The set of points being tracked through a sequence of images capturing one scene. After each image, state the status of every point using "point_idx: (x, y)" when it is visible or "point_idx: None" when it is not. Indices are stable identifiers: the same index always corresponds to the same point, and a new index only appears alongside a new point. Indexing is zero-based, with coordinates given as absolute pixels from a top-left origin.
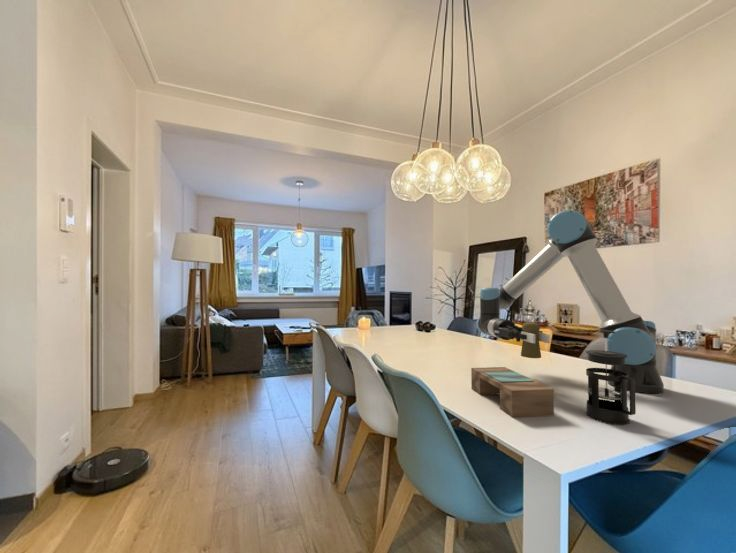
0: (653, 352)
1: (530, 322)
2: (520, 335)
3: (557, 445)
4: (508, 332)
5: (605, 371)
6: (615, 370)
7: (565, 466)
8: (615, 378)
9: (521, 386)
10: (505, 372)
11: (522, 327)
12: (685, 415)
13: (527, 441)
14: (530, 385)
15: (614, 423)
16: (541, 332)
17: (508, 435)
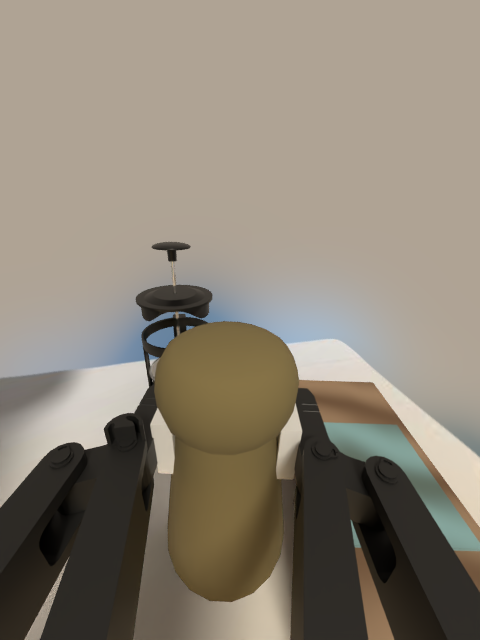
0: None
1: (230, 337)
2: (318, 418)
3: (320, 360)
4: (424, 522)
5: (148, 348)
6: (143, 335)
7: (329, 341)
8: (195, 321)
9: (345, 398)
10: None
11: (297, 391)
12: (40, 391)
13: (352, 369)
14: (320, 400)
15: None
16: (77, 448)
17: (374, 380)
